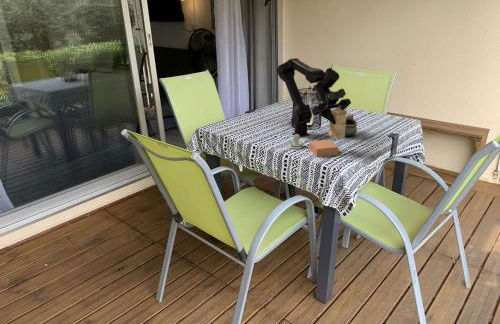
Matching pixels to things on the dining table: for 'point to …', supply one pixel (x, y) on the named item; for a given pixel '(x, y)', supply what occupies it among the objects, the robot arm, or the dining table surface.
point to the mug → (350, 126)
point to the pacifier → (296, 142)
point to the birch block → (338, 123)
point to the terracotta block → (323, 148)
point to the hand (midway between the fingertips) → (339, 122)
